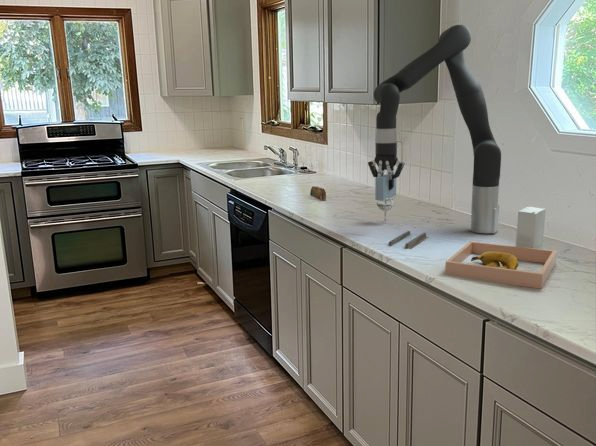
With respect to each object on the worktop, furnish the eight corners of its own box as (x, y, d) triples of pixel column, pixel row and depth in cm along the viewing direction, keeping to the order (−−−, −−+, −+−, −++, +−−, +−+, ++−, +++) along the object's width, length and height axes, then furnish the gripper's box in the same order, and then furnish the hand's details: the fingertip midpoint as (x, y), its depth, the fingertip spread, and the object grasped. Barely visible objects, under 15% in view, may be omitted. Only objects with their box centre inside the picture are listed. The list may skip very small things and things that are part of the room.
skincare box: (524, 250, 189) (527, 205, 185) (543, 253, 185) (546, 208, 181) (514, 255, 183) (516, 210, 179) (533, 258, 179) (536, 212, 175)
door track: (428, 239, 205) (429, 233, 204) (411, 252, 190) (411, 244, 189) (405, 237, 209) (405, 230, 209) (385, 248, 194) (385, 241, 194)
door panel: (396, 195, 211) (396, 173, 209) (383, 200, 201) (383, 178, 199) (388, 194, 213) (388, 173, 211) (375, 199, 203) (375, 177, 201)
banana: (490, 261, 178) (491, 243, 177) (534, 278, 161) (536, 259, 160) (449, 267, 173) (449, 249, 172) (489, 285, 156) (490, 265, 155)
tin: (309, 201, 284) (309, 185, 282) (315, 201, 285) (315, 184, 283) (321, 207, 270) (320, 189, 268) (327, 206, 271) (326, 189, 269)
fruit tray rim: (555, 263, 173) (556, 250, 172) (541, 288, 152) (542, 274, 151) (469, 253, 187) (470, 241, 186) (445, 275, 165) (445, 261, 164)
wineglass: (393, 229, 221) (393, 199, 218) (376, 229, 222) (376, 199, 220) (394, 226, 227) (394, 196, 225) (377, 225, 229) (377, 196, 226)
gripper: (408, 140, 202) (408, 189, 206) (372, 140, 209) (372, 186, 213) (400, 142, 196) (400, 192, 200) (363, 141, 203) (363, 189, 207)
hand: (385, 189), depth 206 cm, fingers closed on door panel, 3 cm apart
